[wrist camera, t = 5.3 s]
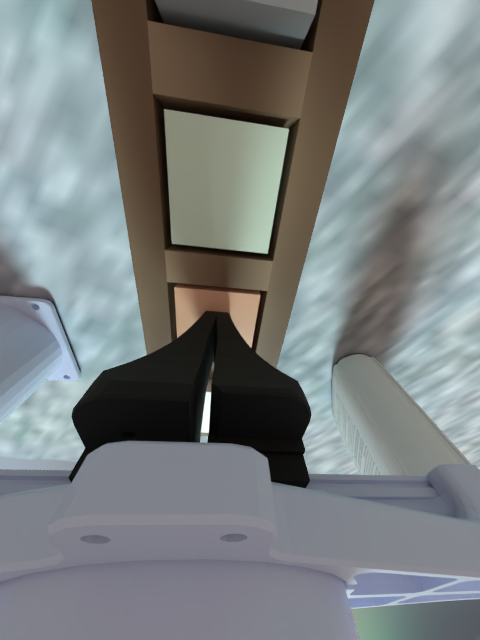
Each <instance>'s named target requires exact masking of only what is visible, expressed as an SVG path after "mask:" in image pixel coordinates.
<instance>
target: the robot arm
mask: <svg viewBox="0 0 480 640" xmlns="http://www.w3.org/2000/svg"><path fill="white" fill-rule="evenodd" d="M36 304H37V305H38V306H39V307H38V306H37V305H36ZM213 358H214V371H213V377H212V383H211V402H210V421H209V434H208V443H200V436H201V428H202V419H203V411H204V403H205V395H206V390H207V385H208V381H209V376H210V372H211V367H212V363H213ZM80 378H81V373H80V371H79V368H78V366H77V363H76V361H75V358H74V356H73V353H72V350H71V348H70V345H69V343H68V340H67V338H66V335H65V333H64V330H63V328H62V325H61V322H60V320H59V317H58V315H57V312H56V310H55V307H54V305H53V303H52V302H50V301H49V300H46V299H38V298H26V297H13V296H0V424H1V423H2V422H3V421H4V420H5V419H6V418H7V417H8V416H9V415H10V414H11V413H12V412H13V411H14V410H16V409H17V408H18V407H19V406H20V405H21V404H22V403H23V402H24V401H25V400H26V399H27V398H28V397H29V396H30V395H31V394H32V393H33V392H34V391H35V390H36V389H37V388H38V387H39V386H40V385H41V384H42V383H44V382H45V381H46V380H60V381H78V380H79V379H80ZM310 418H311V410H310V407H309V404H308V401H307V399H306V397H305V394H304V392H303V390H302V389H301V387H300V385H299V383H298V381H296V380H295V379H293V378H291V377H289V376H288V375H286V374H284V373H282V372H281V371H279V370H278V369H276V368H275V367H273V366H272V365H270V364H269V363H268V362H266V361H265V360H264V359H263V358H261V357H260V356H259V355H258V354H257V353H256V352H255V351H254V350H253V349H252V348H251V347H250V346H249V345H248V344H247V343H246V341H245V340H244V339H243V337H242V336H241V334H240V333H239V331H238V330H237V328H236V326H235V325H234V323H233V321H232V319H231V316H230V314H229V313H228V312H217V311H205V312H204V313H203V314H202V316H201V317H200V318H199V319H198V320H197V321H196V322H195V323H194V324H193V325H192V326H191V327H190V328H189V329H188V330H186V331H185V332H184V333H183V334H182V335H181V336H179V337H178V338H177V339H175V340H174V341H172V342H171V343H169V344H167V345H166V346H164V347H162V348H160V349H158V350H156V351H154V352H153V353H150V354H148V355H146V356H144V357H142V358H139V359H137V360H134V361H132V362H129V363H126V364H123V365H120V366H117V367H114V368H111V369H108V370H105V371H103V372H102V373H101V374H100V375H99V376H98V378H97V379H96V380H95V381H94V382H93V383H92V385H91V386H90V387H89V389H88V390H87V391H86V393H85V394H84V395H83V397H82V398H81V399H80V401H79V402H78V403H77V405H76V406H75V407H74V409H73V412H72V420H73V423H74V426H75V428H76V430H77V432H78V434H79V436H80V438H81V440H82V442H83V444H84V446H85V450H84V452H83V453H82V455H81V457H80V459H79V460H78V462H77V464H76V465H75V467H74V469H73V470H72V471H70V470H69V471H66V470H2V469H0V640H360V638H359V635H358V631H357V628H356V624H355V621H354V618H353V614H352V611H351V609H355V608H366V607H377V606H389V605H400V604H413V603H424V602H437V601H450V600H467V599H480V470H479V469H478V468H477V467H476V466H475V465H472V464H441V465H438V466H436V467H434V468H432V469H431V470H430V471H429V472H428V473H427V475H426V476H407V475H340V474H308V471H307V467H306V464H305V460H304V456H303V454H304V452H305V448H304V444H303V441H302V437H303V435H304V433H305V431H306V428H307V426H308V424H309V422H310Z"/></svg>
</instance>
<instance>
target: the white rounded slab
mask: <svg viewBox="0 0 480 640" xmlns="http://www.w3.org/2000/svg"><path fill="white" fill-rule="evenodd" d="M332 406H333V407H332V408H333V416H334V420H335V423H336V426H337V428H338V430H339V432H340V434H341V436H342V439H343V441H344V443H345V445H346V447H347V449H348V451H349V454H350V456H351V458H352V460H353V462H354V464H355V466H356V469H357V471H358V473H359V475H407V476H426V475H427V473H428V472H429V471H430V470H431V469H432V468H434V467H436V466H438V465H441V464H471V463H470V462H469V461H468V460H467V459H466V458H465V456H464V455H463V454H462V453H461V452H460V451H459V450H458V449H457V448H456V446H455V445H454V444H453V443H452V442H451V441H450V440H449V439H448V438H447V436H446V435H445V434H444V433H443V432H442V431H441V430H440V429H439V428H438V426H437V425H436V424H435V423H434V422H433V421H432V420H431V419H430V417H429V416H428V415H427V414H426V413H425V412H424V411H423V410H422V409H421V407H420V406H419V405H418V404H417V403H416V402H415V401H414V400H413V399H412V397H411V396H410V395H409V394H408V393H407V392H406V391H405V390H404V389H403V388H402V386H401V385H400V384H399V383H398V382H397V381H396V380H395V379H394V378H393V377H392V375H391V374H390V373H389V372H388V371H387V370H386V369H385V368H384V367H383V366H382V364H381V363H380V362H379V361H378V360H376V359H375V358H374V357H368V356H367V355H363V354H355V355H350V356H347V357H345V358H343V359H341V360H340V361H338V364H335V365H334V368H333V374H332Z"/></svg>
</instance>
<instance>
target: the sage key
mask: <svg viewBox="0 0 480 640" xmlns="http://www.w3.org/2000/svg"><path fill="white" fill-rule="evenodd" d="M164 118H165V135H166V153H167V170H168V187H169V205H170V222H171V239H172V244H180V245H190V246H199V247H208V248H218V249H227V250H237V251H246V252H256V253H265V254H268V249H269V243H270V237H271V231H272V225H273V220H274V214H275V208H276V202H277V196H278V191H279V185H280V179H281V173H282V167H283V162H284V156H285V150H286V144H287V138H288V133H289V129H287V128H280V127H274V126H268V125H261V124H255V123H249V122H243V121H236V120H230V119H224V118H217V117H211V116H205V115H199V114H192V113H186V112H180V111H174V110H167V109H164Z"/></svg>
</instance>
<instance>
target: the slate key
mask: <svg viewBox="0 0 480 640" xmlns="http://www.w3.org/2000/svg"><path fill="white" fill-rule="evenodd" d="M155 2H156V5H157V7H158V10H159V12H160V15H161V18H162V20H163V23H164V24H168V25H174V26H179V27H184V28H189V29H194V30H199V31H205V32H210V33H215V34H220V35H225V36H230V37H236V38H241V39H246V40H251V41H256V42H261V43H267V44H272V45H277V46H282V47H287V48H292V49H298V50H300V48H301V46H302V43H303V41H304V39H305V37H306V34H307V32H308V30H309V28H310V25H311V23H312V21H313V19H314V16H315V14H316V8H317V3H318V0H155Z"/></svg>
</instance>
